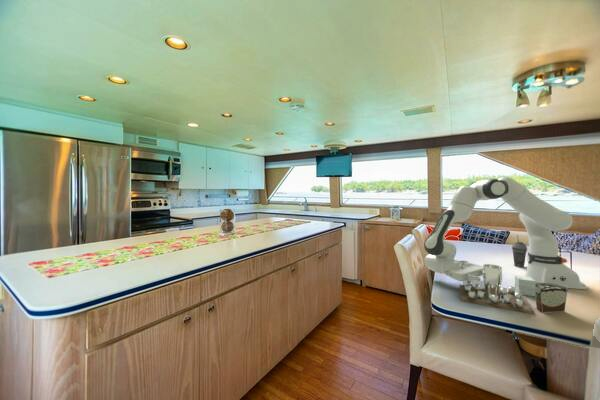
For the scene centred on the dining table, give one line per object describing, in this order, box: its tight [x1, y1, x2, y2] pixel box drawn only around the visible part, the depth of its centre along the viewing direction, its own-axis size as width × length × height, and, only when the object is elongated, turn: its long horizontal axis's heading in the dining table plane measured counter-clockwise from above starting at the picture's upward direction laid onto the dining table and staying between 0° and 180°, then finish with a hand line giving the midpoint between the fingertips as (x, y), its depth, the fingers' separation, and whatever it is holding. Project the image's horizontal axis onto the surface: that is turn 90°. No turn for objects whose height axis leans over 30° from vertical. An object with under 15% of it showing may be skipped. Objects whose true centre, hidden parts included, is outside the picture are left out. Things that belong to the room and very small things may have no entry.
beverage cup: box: [511, 234, 528, 268], centre depth 154 cm, size 7×7×20 cm
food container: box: [533, 282, 569, 314], centre depth 100 cm, size 12×6×10 cm, turn 92°
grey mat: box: [462, 280, 485, 288], centre depth 127 cm, size 13×12×1 cm
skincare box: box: [514, 275, 537, 297], centre depth 116 cm, size 6×6×7 cm
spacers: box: [465, 280, 523, 309], centre depth 110 cm, size 20×17×4 cm
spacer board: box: [459, 284, 534, 315], centre depth 110 cm, size 24×18×1 cm
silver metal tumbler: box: [482, 263, 503, 302], centre depth 110 cm, size 7×7×15 cm
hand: (485, 277), depth 113 cm, fingers open, 8 cm apart
